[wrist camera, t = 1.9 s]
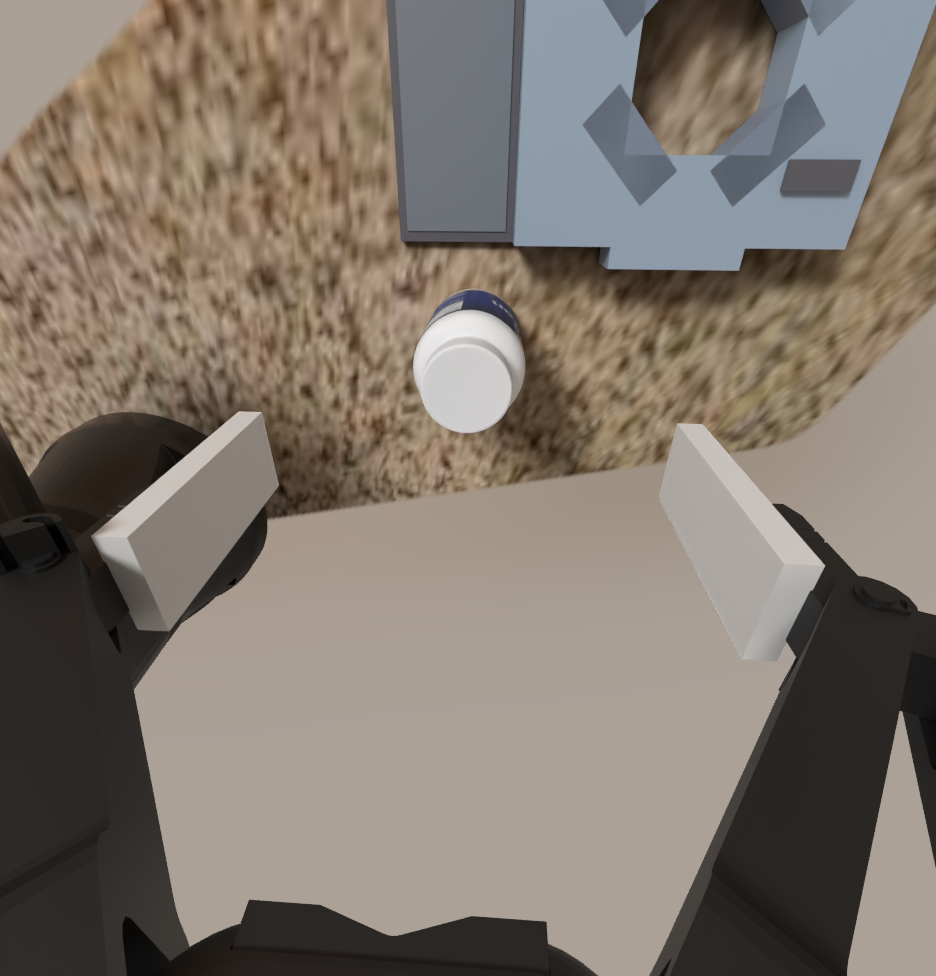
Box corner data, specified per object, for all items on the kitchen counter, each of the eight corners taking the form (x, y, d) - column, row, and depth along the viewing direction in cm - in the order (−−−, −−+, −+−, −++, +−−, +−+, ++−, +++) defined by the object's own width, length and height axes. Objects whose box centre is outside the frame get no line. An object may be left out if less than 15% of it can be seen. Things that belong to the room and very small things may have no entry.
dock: (511, 261, 27) (513, 268, 24) (533, -201, 18) (539, -259, 16) (808, 265, 26) (840, 272, 24) (971, -211, 18) (1045, -273, 15)
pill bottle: (537, 342, 29) (555, 403, 21) (468, 395, 31) (458, 470, 23) (482, 265, 27) (476, 298, 19) (410, 327, 29) (377, 382, 21)
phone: (512, 240, 27) (512, 242, 26) (404, 239, 27) (400, 241, 26) (526, -78, 20) (528, -91, 20) (385, -76, 21) (380, -88, 20)
